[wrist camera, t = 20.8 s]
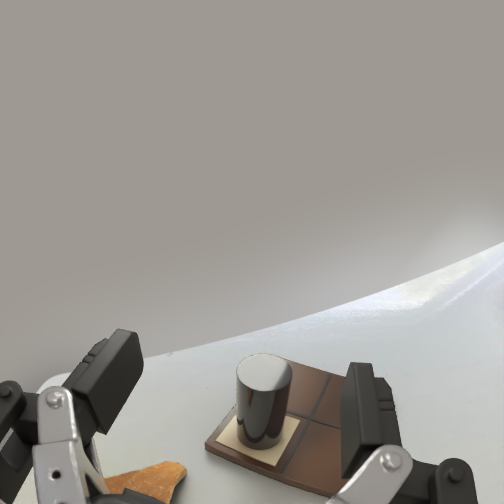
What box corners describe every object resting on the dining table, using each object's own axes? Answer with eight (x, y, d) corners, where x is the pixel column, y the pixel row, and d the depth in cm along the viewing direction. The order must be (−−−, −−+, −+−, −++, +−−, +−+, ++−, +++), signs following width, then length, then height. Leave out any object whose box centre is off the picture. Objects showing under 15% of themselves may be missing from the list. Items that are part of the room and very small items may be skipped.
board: (205, 449, 28) (203, 442, 27) (271, 361, 41) (272, 353, 41) (357, 505, 21) (361, 499, 21) (389, 395, 35) (392, 387, 34)
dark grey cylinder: (228, 439, 28) (225, 378, 24) (249, 409, 32) (252, 347, 28) (270, 457, 26) (279, 399, 23) (289, 424, 30) (300, 363, 26)
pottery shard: (184, 464, 26) (181, 451, 25) (206, 544, 18) (204, 537, 17) (83, 471, 23) (74, 458, 22) (88, 550, 15) (77, 543, 14)
